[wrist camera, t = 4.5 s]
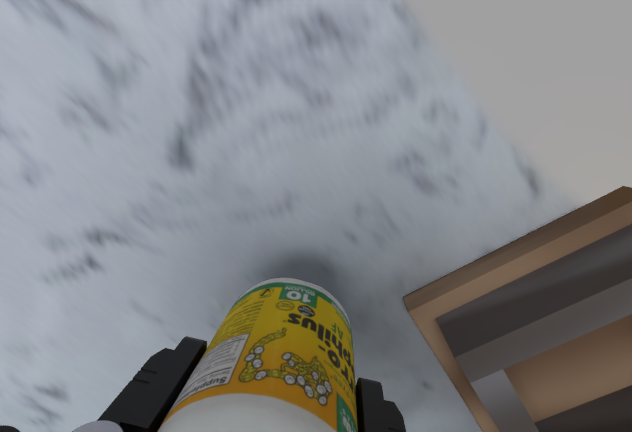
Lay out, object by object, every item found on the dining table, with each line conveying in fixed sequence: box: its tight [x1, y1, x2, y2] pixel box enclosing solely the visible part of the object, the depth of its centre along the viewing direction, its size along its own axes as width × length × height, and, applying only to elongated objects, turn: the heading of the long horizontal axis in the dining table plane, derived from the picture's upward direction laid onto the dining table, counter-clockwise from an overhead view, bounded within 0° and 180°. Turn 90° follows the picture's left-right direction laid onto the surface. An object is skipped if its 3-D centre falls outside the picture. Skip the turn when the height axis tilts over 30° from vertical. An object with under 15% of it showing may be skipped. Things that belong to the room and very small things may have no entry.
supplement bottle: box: [157, 278, 358, 432], centre depth 10 cm, size 5×5×10 cm
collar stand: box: [403, 186, 632, 432], centre depth 16 cm, size 12×12×4 cm
